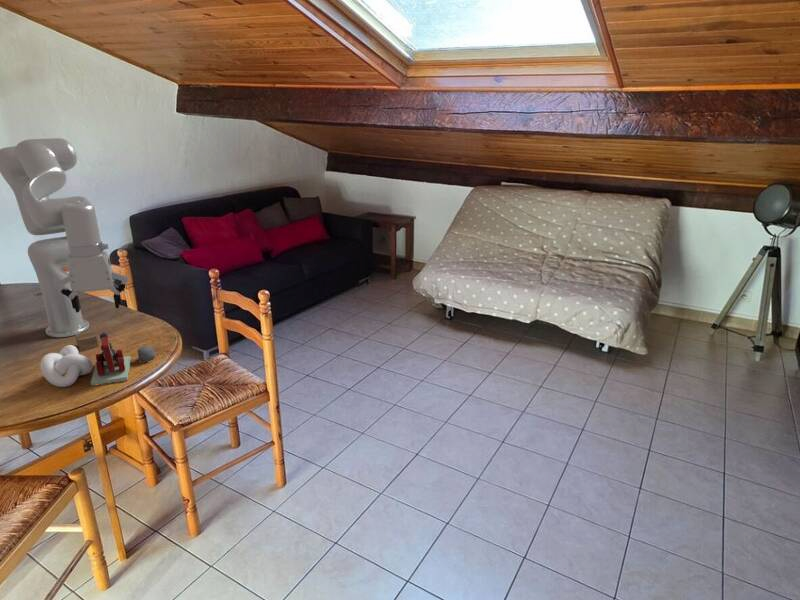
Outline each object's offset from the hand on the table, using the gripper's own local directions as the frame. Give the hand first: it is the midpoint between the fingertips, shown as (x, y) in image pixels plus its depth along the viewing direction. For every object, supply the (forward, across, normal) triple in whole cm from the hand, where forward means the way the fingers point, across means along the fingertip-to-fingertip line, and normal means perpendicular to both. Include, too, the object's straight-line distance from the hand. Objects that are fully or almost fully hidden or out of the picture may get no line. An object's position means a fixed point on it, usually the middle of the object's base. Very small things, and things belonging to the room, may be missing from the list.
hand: (98, 308), depth 142 cm
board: (+20, 0, 0) cm, 20 cm away
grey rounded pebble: (+20, -9, -5) cm, 23 cm away
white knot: (+20, +11, 0) cm, 23 cm away
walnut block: (+20, +9, -20) cm, 30 cm away
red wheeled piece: (+19, 0, 0) cm, 19 cm away
